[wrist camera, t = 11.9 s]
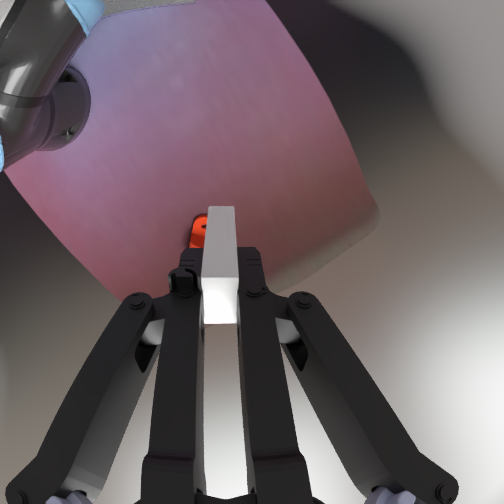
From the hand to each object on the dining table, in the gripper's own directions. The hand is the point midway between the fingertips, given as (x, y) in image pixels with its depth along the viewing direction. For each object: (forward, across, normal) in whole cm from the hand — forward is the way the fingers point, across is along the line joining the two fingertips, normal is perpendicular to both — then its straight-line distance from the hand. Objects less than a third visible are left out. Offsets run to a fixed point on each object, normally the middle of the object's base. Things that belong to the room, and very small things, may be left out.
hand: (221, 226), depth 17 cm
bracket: (+30, -4, -20) cm, 36 cm away
